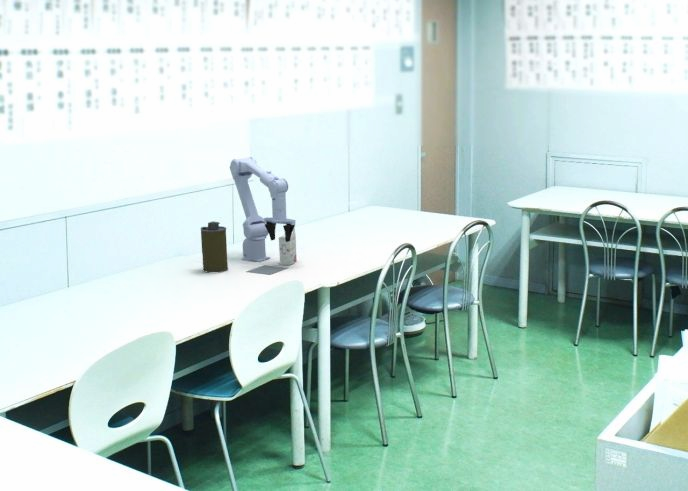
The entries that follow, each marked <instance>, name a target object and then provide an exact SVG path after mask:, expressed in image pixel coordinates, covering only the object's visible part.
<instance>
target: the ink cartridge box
mask: <svg viewBox="0 0 688 491" xmlns="http://www.w3.org/2000/svg"><path fill="white" fill-rule="evenodd" d="M295 228H296V227H294V229H293V231H292V234H291V238H290V241H289V242H286V240H285V233H284V234H283V235H281V236H279V237H278V249H279V250H278V251H279V252H278V253H279V265H280V266H290V265H292V264H294V263H296V262H297V238H296V235H297V234H296V229H295Z"/></svg>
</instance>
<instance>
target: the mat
mask: <svg viewBox="0 0 688 491" xmlns="http://www.w3.org/2000/svg"><path fill="white" fill-rule="evenodd" d="M287 269H289V267H285V266H274V265H269V264H268V265H267V264H264V265H262V266H258V267H255V268H252V269H250V270H246V271H245V272H246V273H251V274H259V275H266V276H268V275H269V276H271V275H273V274H277V273H279V272H282V271H285V270H287Z"/></svg>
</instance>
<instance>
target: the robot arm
mask: <svg viewBox="0 0 688 491" xmlns="http://www.w3.org/2000/svg"><path fill="white" fill-rule="evenodd" d="M256 160H257V159H254V158H253V157H244V158H233V159H232V160H231V161H230V165H229V170H230V173H231V176H232V179H233V180H234V181H233V182H234V183H235V187H236V191H237V194H238V197H239V200H240V202H241V205H242V209H243V212H244V215H245V216H244V217H245V218H246V219H245V220H244V222H243V223H242V228H243V235H244V237H245V239H244V240H243V242H242V258H241V260H244V261H250V262H251V261H253V262H262V261H265V260H268V259H270V258H271V257H270V256H267V253H266V252H267V251H266V239H267V236H268V235H269V237H270V241H275V240H276V227H277V224H280V225H283V227H282V228H283V230H284V234H285V240H286V242H289V241H290V238H291V234H292V233H293V229H294V228H296V219H292V218H291V219H290V218H288V217H287V201H286V200H287V199H286V196H287V195H286V193H287V192H288V190H289V184H288V181H287V180H286V179H285V178H279V177H278V176H277V175H275V174H274V173H272V170H264V169H263V168H262V167H261V166H260V165H258V163H257V161H256ZM252 175H255V176H256V177H258V178H259V181H260V183H262V185H264V186H265V187H267V189H268V191H269V194H270V198H271V208H272V209H271V210H272V211H271V212H272V217H262V216H260V215H259V214H258V213H259V212H258V210H257V206H256V203H255V200H254V198H253V194H252V191H251V188H250V185H249V182H248V181H249V179H250V178H251V177H252Z"/></svg>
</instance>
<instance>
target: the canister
mask: <svg viewBox="0 0 688 491" xmlns="http://www.w3.org/2000/svg"><path fill="white" fill-rule="evenodd" d="M226 231H227V227H225V226H220V222H219V221H209V222H208V223H207V226H202V227H200V240H201V241H200V242H201V254H202V271H203V270H204V271H207V272H206V273H209V272H218V273H222V272H227V271H228V270H229V266H228V249H227V232H226ZM204 271H203V272H204Z"/></svg>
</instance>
